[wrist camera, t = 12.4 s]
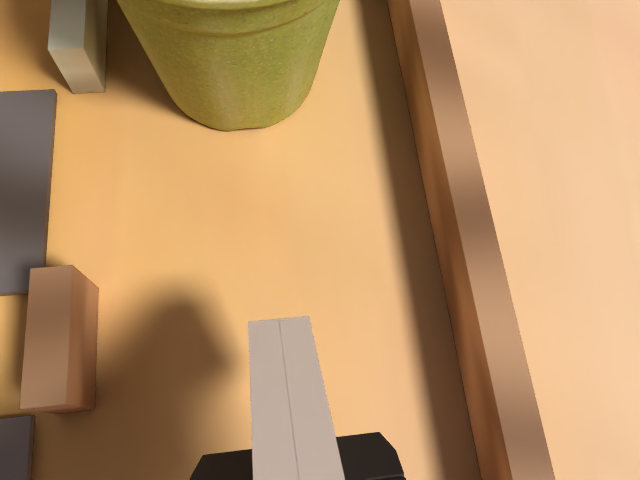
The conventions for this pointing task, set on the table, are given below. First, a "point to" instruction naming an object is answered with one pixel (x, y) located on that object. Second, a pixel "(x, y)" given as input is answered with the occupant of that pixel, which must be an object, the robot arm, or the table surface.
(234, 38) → the plant pot
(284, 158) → the table surface
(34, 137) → the grey and wooden pieces
